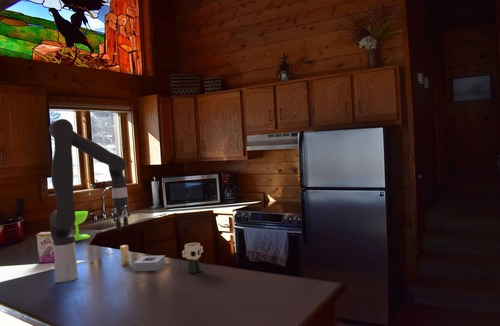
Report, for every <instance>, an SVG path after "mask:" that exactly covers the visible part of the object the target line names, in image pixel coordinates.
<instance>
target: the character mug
mask: <svg viewBox="0 0 500 326" xmlns="http://www.w3.org/2000/svg"><path fill="white" fill-rule="evenodd" d="M203 252H204V248H203V246H202V245H201V243H200V242H189V243H186V244H184V250H182V253H181V254H182V258H185V259H187V265H186V267H187V268H186V269H187V272H188V273H190V274H191V273H192V274H193V273H199V272H201V271H202V270H201V269H202V268H201V264H200V263H201V262H200V260H199V258H201V255H202V254H203Z"/></svg>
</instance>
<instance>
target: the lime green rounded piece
mask: <svg viewBox="0 0 500 326" xmlns="http://www.w3.org/2000/svg"><path fill="white" fill-rule="evenodd" d="M88 213H89V211H87V210H86V211H85V210H82V211H75V223H74V225H75V234H73V235H74V237H75V242H76V241H83V240H86V239H89V238H91V235H89V234H80V230H79V225H80V224H82V223H83V222H85V221H86V220H87V217H88V215H89V214H88ZM74 225H73V226H74Z"/></svg>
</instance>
